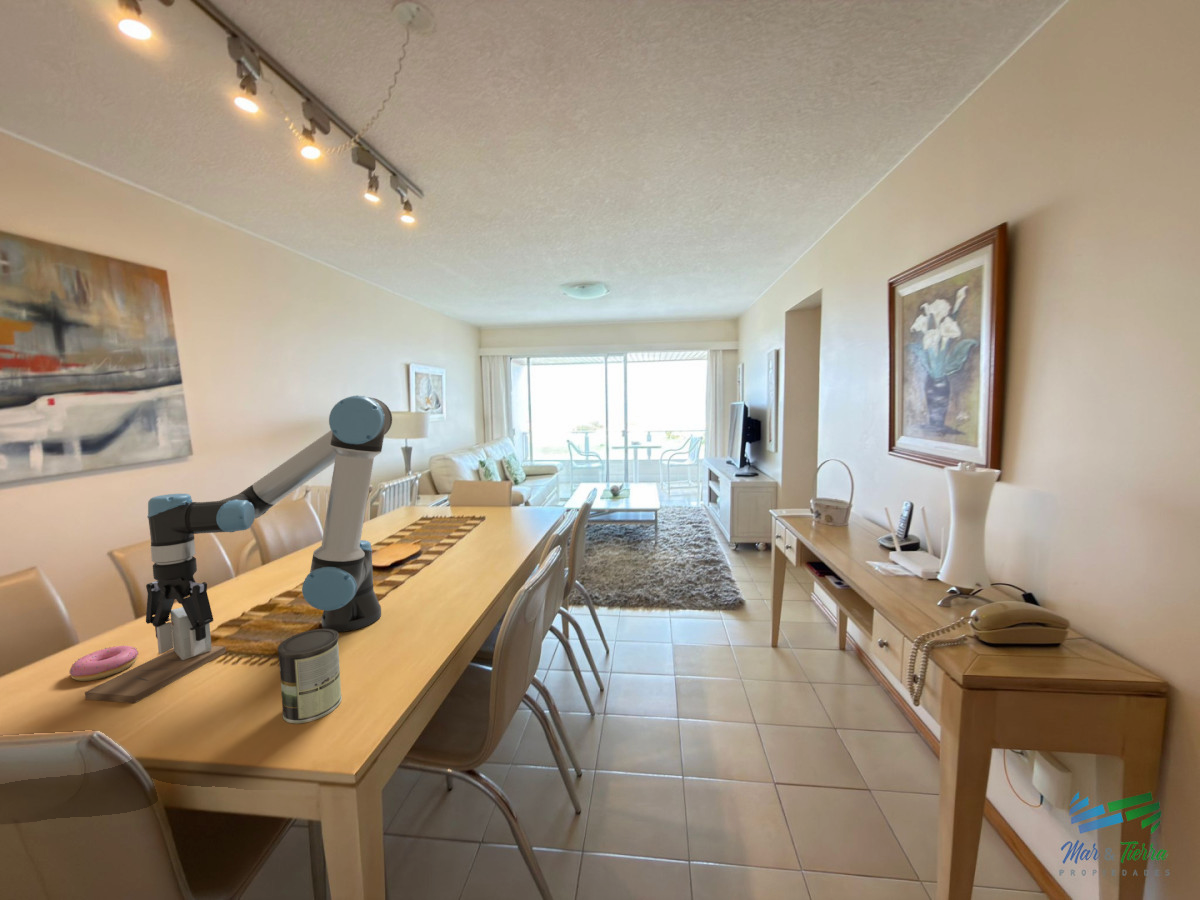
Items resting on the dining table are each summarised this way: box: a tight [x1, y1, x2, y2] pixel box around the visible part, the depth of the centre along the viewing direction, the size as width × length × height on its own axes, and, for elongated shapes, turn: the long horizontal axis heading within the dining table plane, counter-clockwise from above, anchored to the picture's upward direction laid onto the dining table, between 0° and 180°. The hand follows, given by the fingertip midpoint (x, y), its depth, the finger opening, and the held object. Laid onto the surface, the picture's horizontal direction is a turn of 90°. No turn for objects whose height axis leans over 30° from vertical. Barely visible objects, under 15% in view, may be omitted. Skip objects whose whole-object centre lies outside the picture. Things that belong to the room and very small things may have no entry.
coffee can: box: [277, 628, 343, 725], centre depth 91 cm, size 10×10×14 cm
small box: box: [170, 606, 212, 660], centre depth 110 cm, size 8×6×10 cm
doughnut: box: [69, 645, 139, 682], centre depth 106 cm, size 11×11×4 cm
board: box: [84, 645, 227, 704], centre depth 104 cm, size 12×20×2 cm, turn 173°
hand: (182, 651), depth 108 cm, fingers closed on small box, 8 cm apart
